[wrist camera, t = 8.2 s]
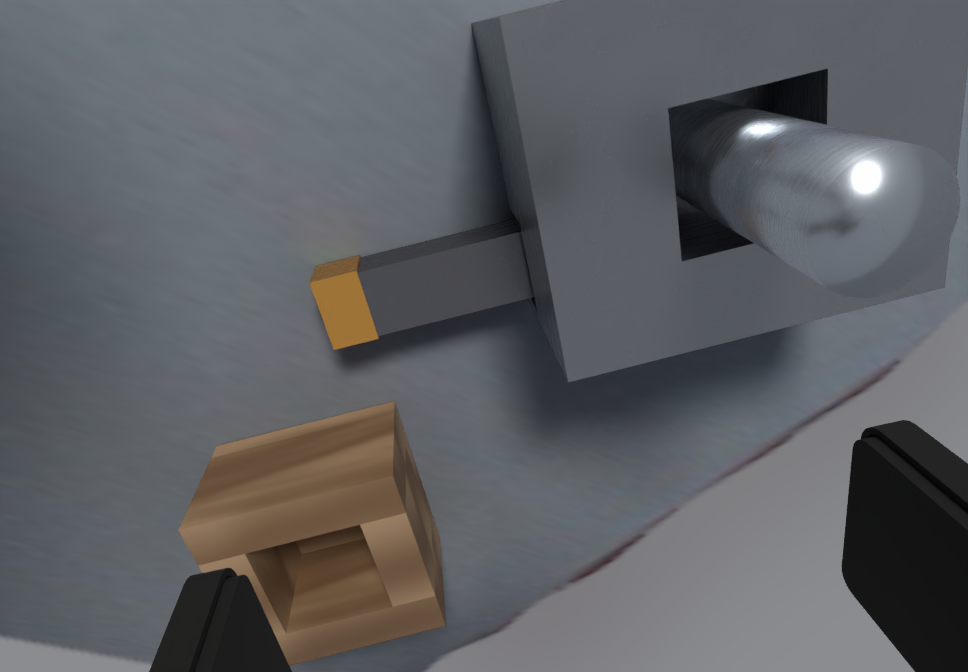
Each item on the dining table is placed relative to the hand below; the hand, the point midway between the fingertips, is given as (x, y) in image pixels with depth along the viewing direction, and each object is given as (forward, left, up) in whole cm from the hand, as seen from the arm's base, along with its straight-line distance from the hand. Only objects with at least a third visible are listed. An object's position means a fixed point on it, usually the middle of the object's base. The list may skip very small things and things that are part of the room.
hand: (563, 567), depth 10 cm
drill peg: (-2, +9, -17) cm, 19 cm away
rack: (+12, -10, -20) cm, 26 cm away
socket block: (-2, +9, -20) cm, 23 cm away
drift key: (+2, +1, -20) cm, 20 cm away
